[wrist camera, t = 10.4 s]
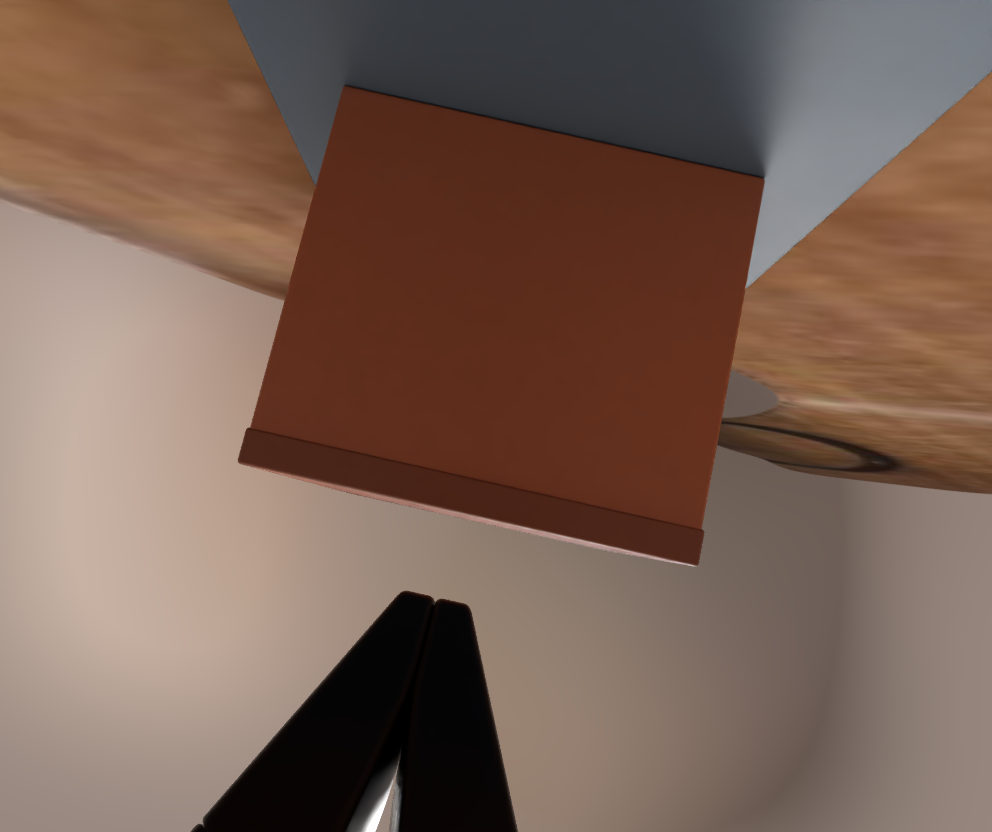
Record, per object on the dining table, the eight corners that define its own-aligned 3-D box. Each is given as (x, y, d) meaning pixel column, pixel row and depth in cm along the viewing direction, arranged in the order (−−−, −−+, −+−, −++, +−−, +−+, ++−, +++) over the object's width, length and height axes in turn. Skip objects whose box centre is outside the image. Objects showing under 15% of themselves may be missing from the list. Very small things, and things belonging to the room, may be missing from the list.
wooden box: (340, 81, 18) (236, 462, 17) (769, 176, 18) (699, 567, 17) (400, 276, 32) (345, 492, 31) (641, 330, 32) (597, 549, 30)
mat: (29, -441, 9) (25, -425, 9) (1253, -174, 9) (1252, -157, 9) (359, 274, 34) (358, 278, 33) (678, 345, 33) (677, 349, 33)
